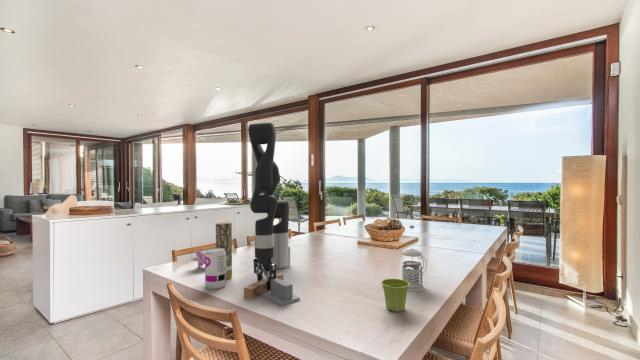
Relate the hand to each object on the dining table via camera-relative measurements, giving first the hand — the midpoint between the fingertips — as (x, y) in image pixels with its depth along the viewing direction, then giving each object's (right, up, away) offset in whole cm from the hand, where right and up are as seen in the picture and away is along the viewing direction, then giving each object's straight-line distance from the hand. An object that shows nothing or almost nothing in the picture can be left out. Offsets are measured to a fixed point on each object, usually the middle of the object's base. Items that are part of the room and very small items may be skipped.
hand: (264, 287), depth 127 cm
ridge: (+8, -1, -9) cm, 12 cm away
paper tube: (-21, -1, +15) cm, 26 cm away
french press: (+60, -1, +2) cm, 60 cm away
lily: (-35, -1, +31) cm, 47 cm away
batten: (0, -1, 0) cm, 1 cm away
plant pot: (+47, -1, -19) cm, 51 cm away
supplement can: (-21, -1, +5) cm, 21 cm away
